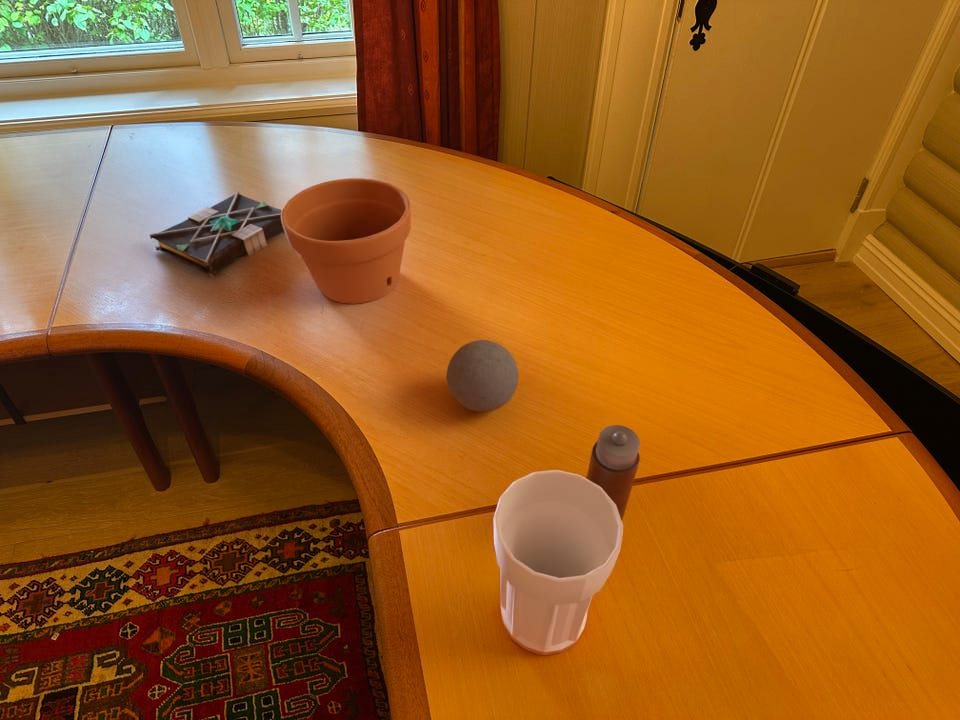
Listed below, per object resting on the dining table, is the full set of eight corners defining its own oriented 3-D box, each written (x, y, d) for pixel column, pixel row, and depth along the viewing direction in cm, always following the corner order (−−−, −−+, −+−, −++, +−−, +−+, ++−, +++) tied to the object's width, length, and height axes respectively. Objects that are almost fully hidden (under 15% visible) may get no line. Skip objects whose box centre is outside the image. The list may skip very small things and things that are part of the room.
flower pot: (363, 333, 99) (350, 255, 89) (273, 291, 107) (252, 216, 97) (439, 271, 112) (435, 197, 102) (353, 238, 120) (342, 167, 110)
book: (212, 279, 109) (203, 255, 106) (153, 251, 116) (144, 228, 113) (299, 227, 123) (294, 205, 120) (242, 205, 130) (236, 183, 126)
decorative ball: (509, 373, 92) (511, 322, 85) (523, 422, 84) (527, 370, 78) (443, 380, 90) (440, 329, 84) (452, 431, 83) (450, 379, 76)
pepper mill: (632, 513, 74) (656, 437, 64) (603, 537, 71) (623, 461, 61) (600, 486, 77) (618, 408, 67) (571, 508, 74) (585, 431, 64)
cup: (569, 550, 70) (588, 456, 58) (615, 645, 62) (648, 558, 50) (476, 579, 67) (476, 486, 55) (512, 682, 59) (521, 600, 48)
